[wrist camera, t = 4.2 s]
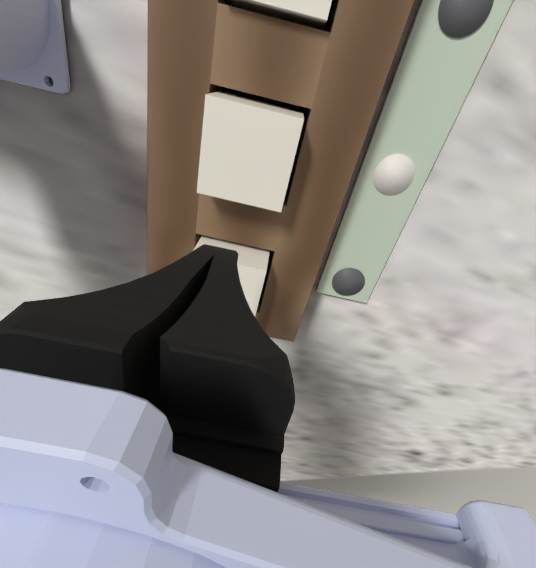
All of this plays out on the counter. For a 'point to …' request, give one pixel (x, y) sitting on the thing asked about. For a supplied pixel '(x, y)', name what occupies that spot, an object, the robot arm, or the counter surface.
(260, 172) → the button middle
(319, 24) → the white square block
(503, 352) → the counter surface
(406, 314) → the counter surface
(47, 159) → the counter surface
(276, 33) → the brown flat rectangular frame
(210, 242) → the cream square block
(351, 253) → the pattern card
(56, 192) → the counter surface
